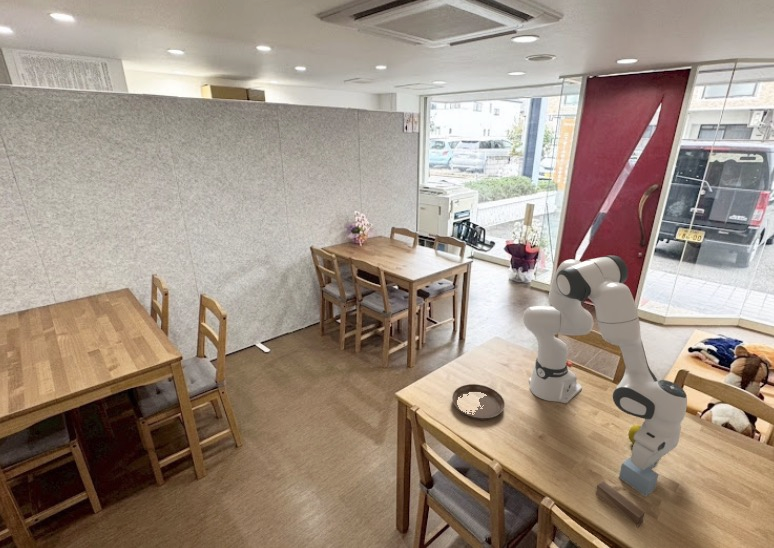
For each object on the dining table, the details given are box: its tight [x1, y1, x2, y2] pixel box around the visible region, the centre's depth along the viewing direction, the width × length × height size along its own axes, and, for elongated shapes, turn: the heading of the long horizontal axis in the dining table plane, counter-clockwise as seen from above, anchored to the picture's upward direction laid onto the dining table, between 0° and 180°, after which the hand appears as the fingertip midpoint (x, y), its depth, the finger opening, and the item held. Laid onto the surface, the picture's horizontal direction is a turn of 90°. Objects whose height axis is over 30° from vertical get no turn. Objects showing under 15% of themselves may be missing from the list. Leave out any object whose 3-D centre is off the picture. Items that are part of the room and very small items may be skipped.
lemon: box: [627, 424, 642, 445], centre depth 131 cm, size 6×6×8 cm
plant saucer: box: [452, 383, 506, 421], centre depth 153 cm, size 21×21×3 cm
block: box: [618, 456, 660, 497], centre depth 117 cm, size 5×8×6 cm, turn 30°
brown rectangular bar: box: [595, 480, 646, 528], centre depth 109 cm, size 3×12×4 cm, turn 29°
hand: (651, 466), depth 119 cm, fingers closed
